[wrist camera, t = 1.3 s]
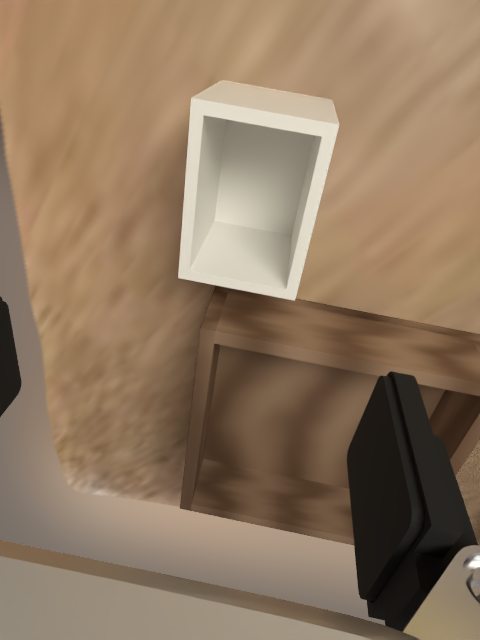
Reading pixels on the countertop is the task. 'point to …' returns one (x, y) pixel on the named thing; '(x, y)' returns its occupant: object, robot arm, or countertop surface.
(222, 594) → the robot arm
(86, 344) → the countertop surface
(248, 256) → the box
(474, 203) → the countertop surface
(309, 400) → the big crate
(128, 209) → the countertop surface
